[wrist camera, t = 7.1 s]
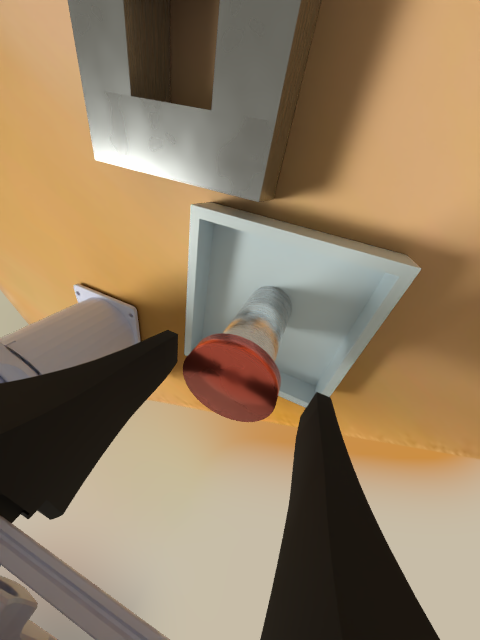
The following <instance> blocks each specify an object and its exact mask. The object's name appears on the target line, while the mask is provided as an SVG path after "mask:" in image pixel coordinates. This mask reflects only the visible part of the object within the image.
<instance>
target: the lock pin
mask: <svg viewBox="0 0 480 640" xmlns="http://www.w3.org/2000/svg"><path fill="white" fill-rule="evenodd" d="M291 312H292V303H291V300H290V298H289V297H288V295H287V294H286V293H285V292H284V291H282V290H281V289H279V288H277V287H273V286H264V287H260V288H258V289H257V290H255V291H254V292H253V294H252V295H251V296H250V298H249V299H248V300H247V301H246V303H245V304H244V305H243V307H242V308H241V309H240V311H239V312H238V313H237V315H236V316H235V317H234V318H233V320H232V321H231V322H230V324H229V325H228V326H227V328H226V329H225V330H224V332H223V333H221V334H213V335H210V336H207V337H206V338H204V339H202V340H201V341H200V342H199V343H198V345H197V346H196V347H195V348H194V349H193V350H192V352H191V353H190V354H189V355H188V356H187V357H186V359H185V361H184V364H183V375H184V379H185V381H186V384H187V386H188V387H189V389H190V391H191V392H192V393H193V395H194V396H195V397H196V398H197V399H198V400H199V401H200V402H201V403H202V404H204V405H205V406H206V407H208V408H209V409H210V410H212V411H214V412H215V413H217V414H219V415H221V416H224V417H226V418H229V419H232V420H236V421H242V422H255V421H259V420H262V419H264V418H266V417H268V416H269V415H270V414H271V413H272V412H273V410H274V408H275V405H276V401H277V398H278V394H279V390H280V386H281V376H280V372H279V370H278V367H277V365H276V364H275V359H276V357H277V354H278V351H279V348H280V345H281V342H282V339H283V336H284V333H285V330H286V327H287V324H288V321H289V318H290V315H291Z"/></svg>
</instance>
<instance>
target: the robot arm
mask: <svg viewBox="0 0 480 640" xmlns="http://www.w3.org/2000/svg"><path fill="white" fill-rule="evenodd" d="M74 290H75V294H76V297H77V300H78V303H77V304H74V305H72V306H70V307H68V308H66V309H63V310H61V311H59V312H57V313H54V314H52V315H50V316H48V317H45V318H43V319H41V320H39V321H37V322H34V323H32V324H30V325H28V326H25V327H23V328H21V329H19V330H17V331H14V332H13V333H10V334H8V335H5V336H3V337H1V338H0V566H1V565H2V566H3V567H4V568H6V569H7V570H8V571H10V572H11V573H12V574H13V575H15V576H16V577H17V578H18V579H20V580H21V581H22V582H24V583H25V584H26V585H27V586H29V587H30V588H31V589H32V590H33V591H35V592H36V593H37V594H38V595H40V596H41V597H42V598H43V599H45V600H46V601H47V602H49V603H50V604H51V605H52V606H54V607H55V608H56V609H57V610H59V611H60V612H61V613H62V614H64V615H65V616H66V617H68V618H69V619H70V620H71V621H73V622H74V623H75V624H76V625H78V626H79V627H80V628H81V629H82V630H84V631H85V632H86V633H87V634H89V635H90V636H91V637H93V638H94V639H95V640H170V639H168V638H167V637H165V636H164V635H163V634H161V633H160V632H159V631H157V630H156V629H155V628H153V627H152V626H150V625H149V624H148V623H146V622H145V621H144V620H142V619H141V618H139V617H138V616H137V615H135V614H134V613H133V612H131V611H130V610H129V609H127V608H126V607H125V606H123V605H122V604H121V603H119V602H118V601H116V600H115V599H114V598H112V597H111V596H110V595H108V594H107V593H105V592H104V591H103V590H101V589H100V588H99V587H97V586H96V585H95V584H93V583H92V582H91V581H89V580H88V579H86V578H85V577H84V576H82V575H81V574H80V573H78V572H77V571H76V570H74V569H73V568H71V567H70V566H69V565H67V564H66V563H64V562H63V561H62V560H61V559H59V558H58V557H56V556H55V555H54V554H52V553H51V552H50V551H48V550H47V549H45V548H44V547H43V546H41V545H40V544H39V543H37V542H36V541H34V540H33V539H32V538H31V537H29V536H28V535H26V534H25V533H24V532H22V531H21V530H20V529H18V528H17V527H16V526H14V525H13V524H11V523H12V522H13V521H14V520H15V519H16V518H17V517H18V516H19V515H20V514H21V515H23V516H24V517H26V518H27V519H29V518H30V517H31V516H32V515H33V514H34V513H35V512H36V511H39V512H40V513H42V514H43V515H45V516H46V517H47V518H49V519H54V518H57V517H59V516H61V515H63V514H64V512H65V510H66V509H67V507H68V506H69V504H70V502H71V501H72V499H73V498H74V496H75V494H76V493H77V492H78V490H79V489H80V487H81V486H82V484H83V482H84V481H85V479H86V478H87V477H88V475H89V474H90V472H91V471H92V469H93V468H94V466H95V465H96V463H97V462H98V460H99V459H100V458H101V456H102V455H103V453H104V452H105V451H106V449H107V448H108V447H109V445H110V444H111V442H112V441H113V439H114V438H115V437H116V436H117V434H118V433H119V431H120V430H121V429H122V428H123V426H124V425H125V424H126V422H127V421H128V420H129V419H130V417H131V416H132V415H133V414H134V413H135V412H136V410H137V409H138V408H139V407H140V406H141V405H142V404H143V403H144V401H146V400H147V398H148V397H149V396H150V395H151V394H152V393H153V392H154V391H155V390H156V389H157V387H158V386H159V385H160V384H161V383H162V382H163V381H164V380H165V378H166V377H167V376H168V374H169V373H170V372H171V370H172V369H173V367H174V366H175V364H176V363H177V350H178V334H176V333H174V332H171V331H169V330H167V331H164V332H162V333H160V334H157V335H155V336H153V337H151V338H148V339H146V340H144V341H140V332H139V323H138V315H137V309H136V308H135V307H134V306H132V305H129V304H127V303H124V302H122V301H120V300H117V299H115V298H112V297H110V296H107V295H105V294H102V293H100V292H97V291H95V290H92V289H90V288H88V287H85V286H83V285H80V284H76V285H74ZM37 604H38V603H37V602H36V600H35V599H34V598H33V597H32V595H31V594H30V593H29V592H28V591H27V590H26V589H25V588H24V587H23V586H21V585H20V584H18V583H17V582H14V581H12V580H10V579H7V578H5V577H2V576H0V640H58V639H56V638H55V637H53V636H52V635H50V634H49V633H48V632H46V631H45V630H43V629H42V628H40V627H39V626H37V625H36V624H35V623H33V622H32V621H30V620H29V618H30V617H31V615H32V614H33V613H34V611H35V610H36V608H37ZM260 640H440V639H439V637H438V635H437V634H436V632H435V630H434V629H433V627H432V625H431V623H430V622H429V620H428V618H427V616H426V614H425V613H424V611H423V609H422V607H421V606H420V604H419V602H418V600H417V599H416V597H415V595H414V593H413V591H412V589H411V587H410V586H409V584H408V582H407V580H406V578H405V576H404V574H403V572H402V570H401V569H400V567H399V565H398V563H397V561H396V559H395V557H394V555H393V554H392V552H391V550H390V548H389V546H388V544H387V542H386V540H385V538H384V536H383V534H382V532H381V530H380V528H379V525H378V524H377V521H376V519H375V517H374V515H373V513H372V511H371V508H370V506H369V504H368V502H367V500H366V497H365V495H364V493H363V490H362V488H361V486H360V483H359V481H358V478H357V476H356V473H355V471H354V468H353V465H352V463H351V460H350V457H349V455H348V452H347V449H346V446H345V443H344V440H343V438H342V434H341V431H340V428H339V425H338V421H337V418H336V415H335V411H334V408H333V404H332V400H331V398H330V397H328V396H326V395H323V394H321V393H318V392H316V393H315V395H314V396H313V398H312V400H311V401H310V403H309V404H308V406H307V407H306V409H305V411H304V412H303V414H302V415H301V417H300V422H299V426H298V431H297V436H296V443H295V452H294V462H293V472H292V483H291V493H290V500H289V507H288V512H287V518H286V523H285V529H284V534H283V539H282V544H281V549H280V554H279V559H278V564H277V569H276V573H275V578H274V583H273V587H272V591H271V596H270V600H269V605H268V609H267V613H266V618H265V622H264V626H263V631H262V635H261V639H260Z"/></svg>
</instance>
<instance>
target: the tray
mask: <svg viewBox="0 0 480 640" xmlns="http://www.w3.org/2000/svg"><path fill="white" fill-rule="evenodd" d="M420 270H421V268H420V267H419V266H418V265H417V264H416V263H415V262H414V261H413V260H412V259H411V258H410V257H409V256H407V255H405V254H402V253H398V252H394V251H391V250H387V249H383V248H380V247H376V246H372V245H368V244H365V243H361V242H357V241H354V240H350V239H346V238H342V237H339V236H335V235H331V234H328V233H324V232H320V231H317V230H313V229H309V228H305V227H302V226H298V225H294V224H291V223H287V222H283V221H280V220H276V219H272V218H268V217H265V216H261V215H257V214H254V213H250V212H246V211H243V210H239V209H235V208H231V207H228V206H224V205H220V204H217V203H213V202H207V203H199V204H191V211H190V234H189V256H188V279H187V302H186V325H185V348H184V355H186V356H188V355H189V354H190V353H191V352H192V350H193V349H194V348H195V347H196V346H197V345H198V343H199V342H200V341H201V340H202V339H204V338H206V337H207V336H210V335H213V334H221V333H223V332H224V330H225V329H226V328H227V326H228V325H229V324H230V322H231V321H232V320H233V318H234V317H235V316H236V315H237V313H238V312H239V311H240V309H241V308H242V307H243V305H244V304H245V303H246V301H247V300H248V299H249V298H250V296H251V295H252V294H253V292H254V291H255V290H257V289H258V288H260V287H264V286H273V287H277V288H279V289H281V290H282V291H284V292H285V293H286V294H287V295H288V297H289V298H290V300H291V303H292V312H291V315H290V318H289V321H288V324H287V327H286V330H285V333H284V336H283V339H282V342H281V345H280V348H279V351H278V354H277V357H276V359H275V364H276V365H277V367H278V370H279V372H280V376H281V386H280V390H279V394H278V396H280V397H282V398H285V399H287V400H289V401H292V402H294V403H296V404H298V405H301V406H303V407H305V408H306V407H307V406H308V404H309V403H310V401H311V400H312V398H313V396H314V395H315V393H316V392H318V393H321V394H323V395H326V396H328V397H330V396H331V394H332V393H333V392H334V390H335V389H336V387H337V386H338V385H339V383H340V382H341V380H342V379H343V378H344V376H345V375H346V373H347V372H348V371H349V369H350V368H351V366H352V365H353V364H354V362H355V361H356V360H357V358H358V357H359V355H360V354H361V353H362V351H363V350H364V348H365V347H366V346H367V344H368V343H369V341H370V340H371V339H372V337H373V336H374V334H375V333H376V332H377V330H378V329H379V327H380V326H381V325H382V323H383V322H384V320H385V319H386V318H387V316H388V315H389V314H390V312H391V311H392V309H393V308H394V307H395V305H396V304H397V302H398V301H399V300H400V298H401V297H402V295H403V294H404V293H405V291H406V290H407V288H408V287H409V286H410V284H411V283H412V281H413V280H414V279H415V277H416V276H417V274H418V273H419V272H420Z"/></svg>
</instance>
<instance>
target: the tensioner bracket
mask: <svg viewBox="0 0 480 640" xmlns="http://www.w3.org/2000/svg"><path fill="white" fill-rule="evenodd" d="M320 4H321V0H220V4H219V17H218V31H217V44H216V57H215V70H214V83H213V96H212V109H211V110H206V109H201V108H195V107H190V106H184V105H178V104H173V103H170V0H68V5H69V11H70V17H71V22H72V28H73V34H74V40H75V46H76V52H77V58H78V63H79V69H80V75H81V81H82V87H83V93H84V99H85V104H86V110H87V116H88V122H89V128H90V134H91V140H92V145H93V151H94V157H95V160H97V161H101V162H105V163H109V164H113V165H117V166H120V167H124V168H128V169H132V170H136V171H140V172H144V173H148V174H151V175H155V176H159V177H163V178H167V179H171V180H175V181H179V182H182V183H186V184H190V185H194V186H198V187H202V188H206V189H210V190H213V191H217V192H221V193H225V194H229V195H233V196H237V197H241V198H244V199H248V200H252V201H256V202H263V201H268V200H273V198H274V194H275V190H276V186H277V182H278V178H279V174H280V169H281V165H282V161H283V157H284V153H285V149H286V145H287V140H288V136H289V132H290V128H291V124H292V120H293V116H294V111H295V107H296V103H297V99H298V95H299V91H300V87H301V82H302V78H303V74H304V70H305V66H306V62H307V58H308V53H309V49H310V45H311V41H312V37H313V33H314V29H315V24H316V20H317V16H318V12H319V8H320Z"/></svg>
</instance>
